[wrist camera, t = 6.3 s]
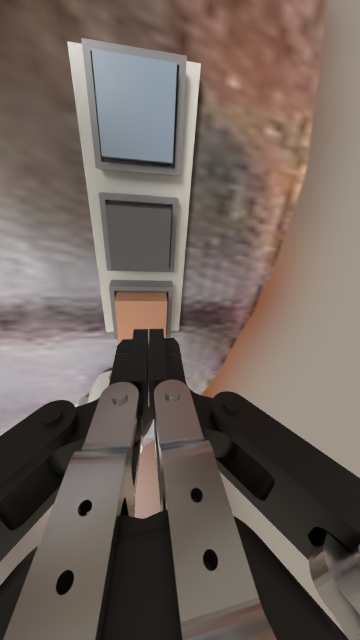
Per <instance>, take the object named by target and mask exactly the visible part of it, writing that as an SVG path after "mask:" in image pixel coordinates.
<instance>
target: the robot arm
mask: <svg viewBox="0 0 360 640" xmlns="http://www.w3.org/2000/svg"><path fill="white" fill-rule="evenodd" d="M148 398H149V410H150V420H151V419H154V434H155V447H156V448H155V449H156V460H157V470H158V482H159V494H160V511H161V512H159V513H157V514H154V515H152V516H150V517H148V518H145V519H139V518H135V517H134V514H135V494H136V483H137V475H138V466H139V456H140V449H141V440H142V433H143V420H148ZM220 472H221V473H222V474H223V475H224V476H225V477H226V478H227V479H228V480H229V481H230V482H231V483H232V484H233V485H234V486H235V487H236V488H237V489H238V490H239V491H240V492H241V493H242V494H243V495H244V496H245V497H246V498H247V499H248V500H249V501H250V502H251V503H252V504H253V505H254V506H255V507H256V508H257V509H258V510H259V511H260V512H261V513H262V514H263V515H264V516H265V517H266V518H267V519H268V520H269V521H270V522H271V523H272V524H273V525H274V526H275V527H276V528H277V529H278V530H279V531H280V532H281V533H282V534H283V535H284V536H285V537H286V538H287V539H288V540H289V541H290V542H291V543H292V544H293V545H294V546H295V547H296V548H297V549H298V550H299V551H300V552H301V553H302V554H303V555H304V556H305V557H306V558H307V559H308V560H309V567H310V573H311V577H312V580H313V583H314V585H315V587H316V590H317V592H318V593H319V595H320V597H321V598H322V600H323V601H324V603H325V604H326V606H327V607H328V608H329V609H330V611H331V612H332V613H333V615H334V616H335V617H336V619H337V621H338V622H339V624H340V625H341V627H342V629H343V631H344V633H345V634H344V633H343V632H342V631H341V630H340V629H339V628H338V626H337V625H336V624H335V623H334V622H333V621H332V620H331V618H330V617H329V616H328V615H327V614H326V613H325V612H324V611H323V609H322V608H321V607H320V606H319V605H318V604H317V603H316V601H315V600H314V599H313V598H312V597H311V596H310V595H309V593H308V592H307V591H306V590H305V589H304V588H303V587H302V586H301V584H300V583H299V582H298V581H297V580H296V579H295V578H294V576H293V575H292V574H291V573H290V572H289V571H288V570H287V568H286V567H285V566H284V565H283V564H282V563H281V562H280V560H279V559H278V558H277V557H276V556H275V555H274V553H273V552H272V551H271V550H270V549H269V548H268V547H267V545H266V544H265V543H264V542H263V541H262V540H261V539H260V538H259V537H258V535H257V534H256V533H255V532H254V531H253V530H252V529H251V528H249V527H248V526H247V525H246V524H245V523H244V522H242V521H241V520H239V519H238V518H236V517H234V516H233V513H232V510H231V507H230V504H229V500H228V497H227V494H226V491H225V487H224V484H223V481H222V478H221V474H220ZM53 504H54V505H53ZM52 505H53V507H52V510H51V513H50V515H49V518H48V521H47V524H46V526H45V529H44V532H43V534H42V537H41V540H40V542H39V545H38V546H37V547H36V548H35V549H34V550H32V551H31V552H30V553H29V554H28V555H27V556H26V557H25V558H24V559H23V560H22V561H21V562H20V563H19V564H18V565H17V566H16V568H15V569H14V570H13V571H12V572H11V573H10V575H9V576H8V577H7V578H6V579H5V581H4V582H3V583H2V584H1V585H0V640H360V478H359V477H357V476H355V475H354V474H353V473H351V472H350V471H348V470H347V469H346V468H344V467H343V466H341V465H340V464H338V463H337V462H335V461H334V460H332V459H331V458H330V457H328V456H327V455H325V454H324V453H322V452H321V451H320V450H318V449H317V448H315V447H314V446H312V445H311V444H310V443H308V442H307V441H305V440H304V439H302V438H301V437H299V436H298V435H297V434H295V433H294V432H292V431H291V430H289V429H288V428H286V427H285V426H284V425H282V424H281V423H279V422H278V421H276V420H275V419H273V418H272V417H270V416H269V415H268V414H266V413H265V412H263V411H262V410H260V409H259V408H258V407H256V406H255V405H253V404H252V403H250V402H249V401H248V400H246V399H245V398H243V397H242V396H240V395H239V394H236V393H233V392H227V391H226V392H220V393H218V394H217V395H216V396H215V397H214V398H210V397H205V396H201V395H198V394H196V393H194V392H193V391H192V390H190V389H189V387H188V386H187V384H186V381H185V376H184V370H183V365H182V359H181V353H180V348H179V344H178V342H177V341H176V340H175V339H174V338H164V331H163V329H149V341H148V329H134V331H133V338H132V339H123V340H122V341H121V342H120V343H119V345H118V346H117V350H116V355H115V359H114V364H113V368H112V373H111V378H110V382H109V386H108V387H107V388H106V389H105V390H104V391H103V392H102V394H101V396H100V397H99V398H98V399H96V400H94V401H92V402H90V403H87V404H84V405H80V406H77V407H75V406H74V405H73V404H72V403H71V402H69V401H66V400H57V401H53V402H50V403H48V404H46V405H44V406H42V407H41V408H39V409H38V410H36V411H35V412H34V413H32V414H31V415H29V416H28V417H27V418H25V419H24V420H22V421H21V422H20V423H18V424H17V425H15V426H14V427H12V428H11V429H10V430H8V431H7V432H5V433H4V434H3V435H1V436H0V561H1V560H2V559H3V558H4V557H5V556H6V555H7V554H8V553H9V552H10V550H11V549H12V548H13V547H14V546H15V545H16V544H17V543H18V542H19V541H20V540H21V538H22V537H23V536H24V535H25V534H26V533H27V532H28V531H29V530H30V529H31V528H32V527H33V525H34V524H35V523H36V522H37V521H38V520H39V519H40V518H41V517H42V516H43V515H44V513H45V512H46V511H47V510H48V509H49V508H50V507H51V506H52ZM345 635H346V636H345Z"/></svg>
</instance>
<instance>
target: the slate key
mask: <svg viewBox="0 0 360 640" xmlns="http://www.w3.org/2000/svg"><path fill="white" fill-rule="evenodd" d="M91 49H92V48H91ZM92 59H93V69H94V80H95V90H96V101H97V111H98V121H99V132H100V142H101V152H102V156H103V157H105V158H106V159H115V160H125V161H136V162H146V163H157V164H167V165H171V164H172V163H173V145H174V122H175V98H176V75H177V62H171V61H165V60H159V59H152V58H146V57H140V56H134V55H128V54H122V53H116V52H110V51H104V50H98V49H92Z"/></svg>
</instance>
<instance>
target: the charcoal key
mask: <svg viewBox="0 0 360 640" xmlns="http://www.w3.org/2000/svg"><path fill="white" fill-rule="evenodd" d="M105 210H106V220H107V230H108V240H109V250H110V260H111V270H127V271H167V272H169V255H170V232H171V209H170V208H169V207H158V206H143V205H129V204H114V203H109V204H107V205H105Z"/></svg>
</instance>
